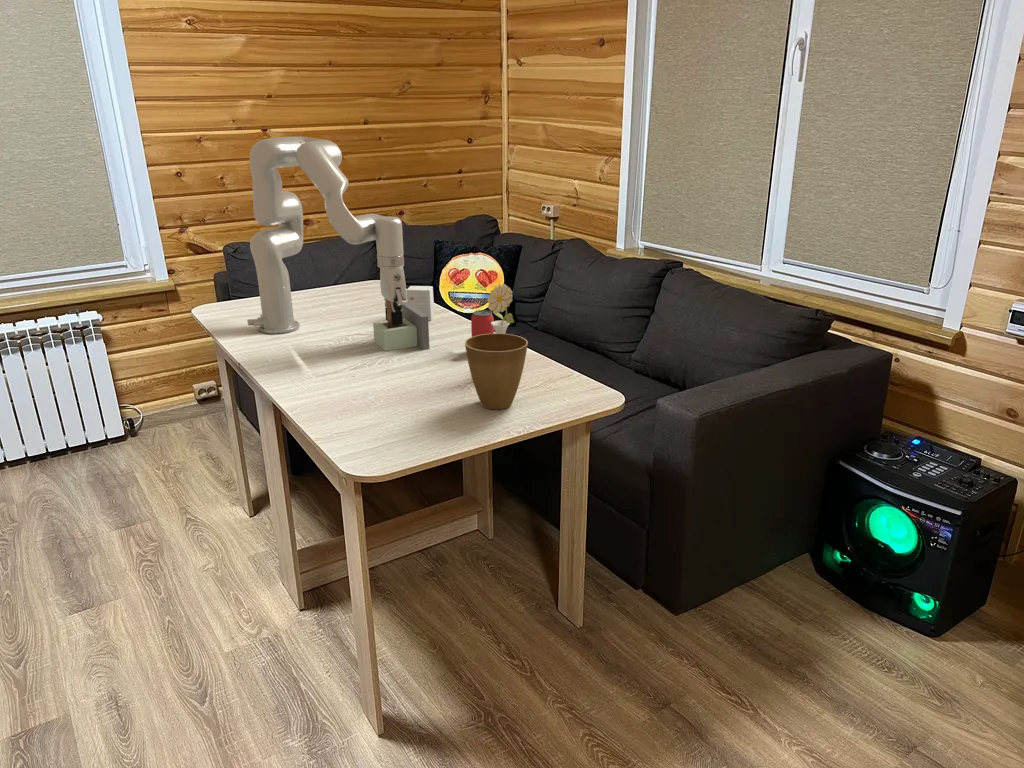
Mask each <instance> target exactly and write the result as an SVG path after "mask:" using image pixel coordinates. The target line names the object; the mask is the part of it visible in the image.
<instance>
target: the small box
mask: <svg viewBox="0 0 1024 768" xmlns="http://www.w3.org/2000/svg"><path fill="white" fill-rule="evenodd" d="M406 293H407V300H406V302H407V303H409V304H410V305H412V306H413V307H415V308H416V309H418V310H419V311H421V312H422V313H424V314H425V315H427V316H428V321H432V320H433V318H434V317H435V301H434V287H433V286H431V285H410V286H409V287H408V288H406Z"/></svg>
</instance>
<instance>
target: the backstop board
mask: <svg viewBox="0 0 1024 768" xmlns="http://www.w3.org/2000/svg"><path fill="white" fill-rule="evenodd" d="M403 318H405V319H407V320H408V321H409V322H411V323H412V324H414V325H415V326H416V327H417V344H418V346H417V347H419V348H420V349H421V350H423V351H424V350H425V351H427V350H430V327H429V326H430V325H429V320H428V316H427V315H425V314H424V313H422V312H421V311H419V310H418V309H416V308H415V307H413V306H412V305H410V304H409V303H407V301H403V306H402V319H403Z"/></svg>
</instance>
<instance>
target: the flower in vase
mask: <svg viewBox="0 0 1024 768" xmlns="http://www.w3.org/2000/svg"><path fill="white" fill-rule="evenodd" d="M487 299H488V300H487V308H488V309H489V311H491V312H492V314H494V316H496V317H498V318H500V319H501V320H494V321H493V322H491V325H492V326H493V328H494V334H495V333H499V334H506V331H507V328H508V327H509V325H510V324H512V323H515V319H514V317H513V314H512V313H510V312H509V313H508V307H510V304H511V303H512V302H513V291H512V289H511V287H509V286H508V285H506V284H505V283H504V284H502V285H501V284H498V285H497V286H494V289H492V290H490V293H489V294H488V298H487ZM504 311H505V314H504V317H503V315H502V314H501V313H503V312H504Z"/></svg>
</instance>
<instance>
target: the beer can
mask: <svg viewBox="0 0 1024 768" xmlns="http://www.w3.org/2000/svg"><path fill="white" fill-rule="evenodd" d="M493 321H495V318H494V315H493V311H490V310H485V309H484V310H483V309H481V310H475V311H473V312H472V316H471V322H470V324H471V325H470V327H471V330H470V331H471V337H473V336H477V335H482V334H495V330H494V328H493V326H492V325H491V322H493Z"/></svg>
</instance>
